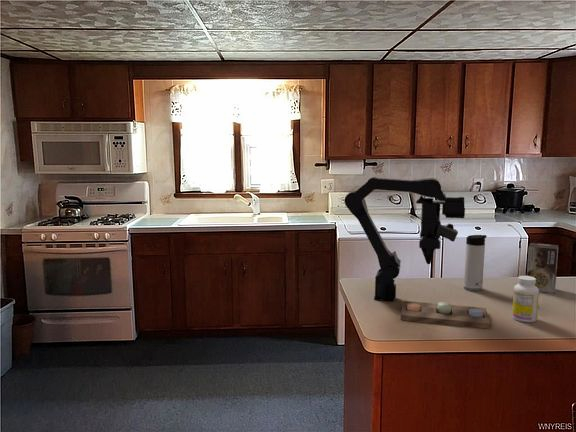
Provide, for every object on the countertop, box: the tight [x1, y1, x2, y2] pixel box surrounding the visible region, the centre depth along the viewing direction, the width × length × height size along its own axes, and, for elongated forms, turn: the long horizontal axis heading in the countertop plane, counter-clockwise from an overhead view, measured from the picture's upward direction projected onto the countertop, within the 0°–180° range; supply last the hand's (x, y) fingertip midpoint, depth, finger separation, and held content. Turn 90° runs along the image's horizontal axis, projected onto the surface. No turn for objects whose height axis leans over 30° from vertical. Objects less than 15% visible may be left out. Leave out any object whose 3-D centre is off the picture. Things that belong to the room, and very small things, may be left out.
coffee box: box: [526, 242, 559, 294], centre depth 164 cm, size 9×6×16 cm
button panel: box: [400, 300, 492, 330], centre depth 141 cm, size 25×13×2 cm, turn 73°
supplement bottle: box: [511, 275, 540, 323], centre depth 137 cm, size 7×7×13 cm
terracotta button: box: [406, 303, 421, 312], centre depth 144 cm, size 4×4×2 cm
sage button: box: [437, 301, 452, 315], centre depth 141 cm, size 4×4×2 cm
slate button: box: [468, 309, 483, 318], centre depth 139 cm, size 4×4×2 cm
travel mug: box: [463, 234, 487, 292], centre depth 165 cm, size 6×7×20 cm
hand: (428, 263), depth 152 cm, fingers closed
